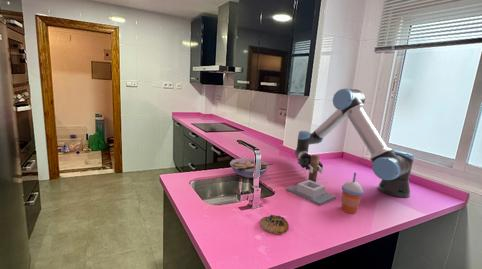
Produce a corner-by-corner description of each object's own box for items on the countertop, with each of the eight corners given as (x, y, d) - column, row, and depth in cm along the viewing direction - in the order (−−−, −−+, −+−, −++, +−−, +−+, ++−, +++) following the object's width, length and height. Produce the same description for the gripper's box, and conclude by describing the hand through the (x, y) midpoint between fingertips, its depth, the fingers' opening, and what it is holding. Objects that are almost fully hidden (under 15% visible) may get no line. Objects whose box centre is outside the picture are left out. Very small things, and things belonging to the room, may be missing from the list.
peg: (317, 183, 145) (321, 156, 141) (313, 184, 142) (316, 157, 139) (310, 180, 148) (314, 154, 145) (306, 182, 145) (309, 155, 142)
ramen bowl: (253, 167, 165) (254, 155, 163) (277, 179, 146) (278, 165, 145) (220, 172, 150) (221, 159, 149) (242, 186, 132) (243, 172, 130)
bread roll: (285, 219, 102) (286, 209, 101) (290, 239, 92) (292, 228, 90) (258, 219, 102) (258, 208, 100) (260, 238, 92) (261, 227, 90)
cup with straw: (347, 216, 109) (353, 176, 105) (334, 206, 117) (339, 169, 114) (364, 214, 111) (371, 176, 108) (350, 204, 120) (356, 169, 116)
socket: (335, 198, 126) (336, 188, 125) (319, 205, 117) (321, 195, 115) (302, 184, 140) (303, 176, 139) (286, 190, 131) (287, 181, 130)
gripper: (318, 164, 162) (331, 178, 139) (291, 163, 161) (300, 176, 138) (319, 153, 160) (333, 165, 137) (292, 151, 160) (301, 163, 137)
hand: (316, 170), depth 138 cm, fingers closed on peg, 4 cm apart
